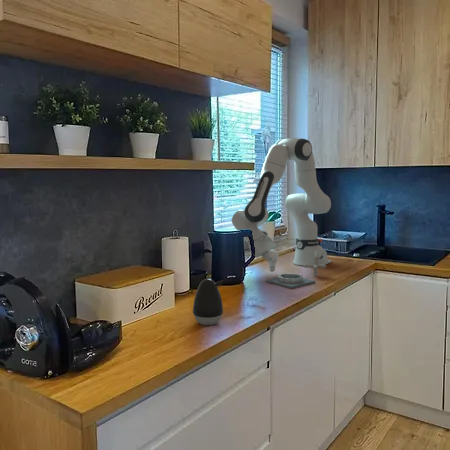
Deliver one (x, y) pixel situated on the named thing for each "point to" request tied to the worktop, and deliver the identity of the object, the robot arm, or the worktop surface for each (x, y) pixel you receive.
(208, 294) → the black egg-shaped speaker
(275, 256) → the lightbulb
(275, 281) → the collar board
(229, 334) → the worktop surface
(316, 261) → the pipe connector
